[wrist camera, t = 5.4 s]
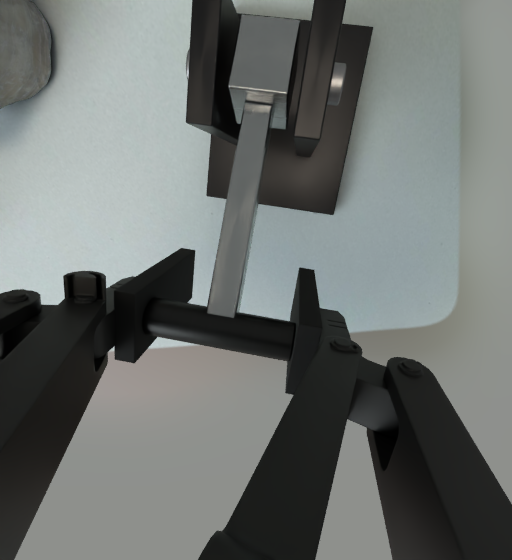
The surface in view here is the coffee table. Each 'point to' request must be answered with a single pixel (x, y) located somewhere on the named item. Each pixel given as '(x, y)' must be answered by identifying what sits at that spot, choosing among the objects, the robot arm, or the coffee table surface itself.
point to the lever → (242, 199)
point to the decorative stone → (23, 51)
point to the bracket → (303, 112)
